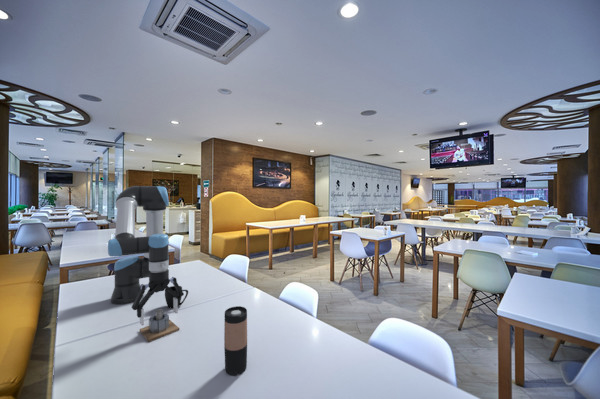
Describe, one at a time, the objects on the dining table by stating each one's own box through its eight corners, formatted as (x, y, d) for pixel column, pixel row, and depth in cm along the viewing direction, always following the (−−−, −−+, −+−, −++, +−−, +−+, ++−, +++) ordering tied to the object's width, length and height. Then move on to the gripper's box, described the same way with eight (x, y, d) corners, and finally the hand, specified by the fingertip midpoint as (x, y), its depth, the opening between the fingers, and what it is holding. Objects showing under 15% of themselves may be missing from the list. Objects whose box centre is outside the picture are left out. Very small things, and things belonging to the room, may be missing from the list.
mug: (183, 310, 128) (182, 292, 128) (161, 309, 130) (161, 291, 130) (191, 303, 137) (191, 286, 136) (171, 302, 138) (171, 285, 138)
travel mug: (226, 361, 89) (226, 306, 89) (248, 360, 90) (248, 305, 90) (222, 377, 82) (221, 317, 81) (245, 375, 82) (245, 316, 82)
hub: (147, 329, 109) (146, 317, 109) (164, 322, 114) (164, 311, 114) (152, 335, 104) (152, 323, 104) (170, 328, 109) (170, 317, 109)
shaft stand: (139, 331, 109) (139, 310, 109) (168, 320, 118) (168, 302, 118) (148, 342, 101) (148, 320, 101) (179, 330, 110) (179, 310, 110)
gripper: (127, 279, 97) (128, 333, 98) (191, 265, 116) (191, 310, 116) (122, 275, 102) (123, 326, 103) (184, 262, 121) (184, 305, 121)
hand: (159, 318), depth 109 cm, fingers open, 13 cm apart
